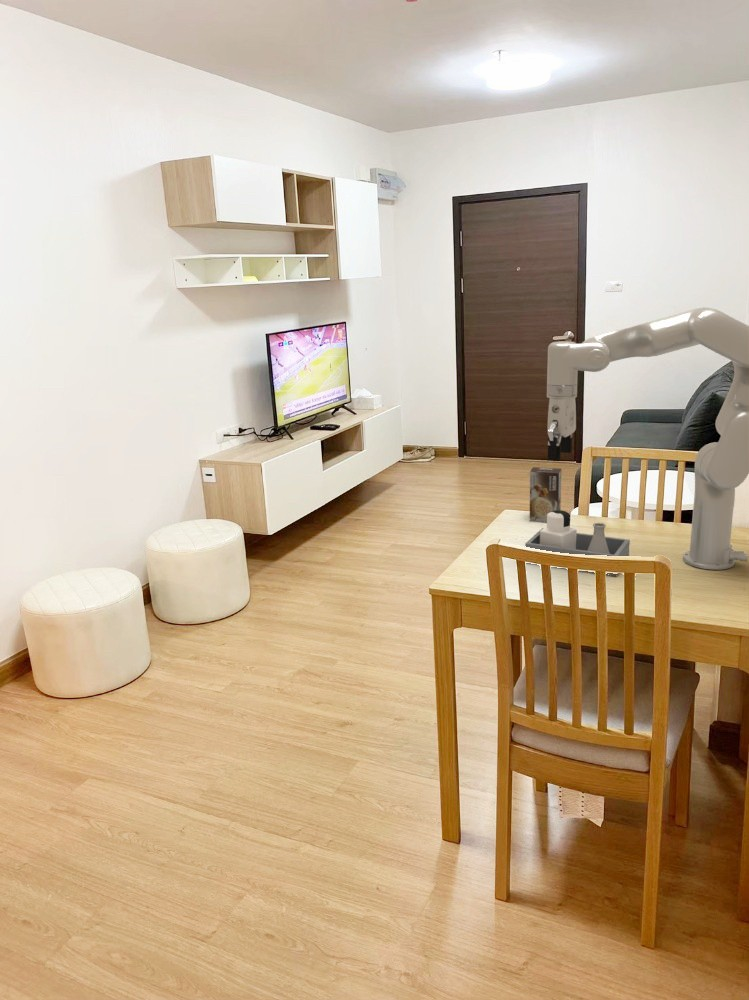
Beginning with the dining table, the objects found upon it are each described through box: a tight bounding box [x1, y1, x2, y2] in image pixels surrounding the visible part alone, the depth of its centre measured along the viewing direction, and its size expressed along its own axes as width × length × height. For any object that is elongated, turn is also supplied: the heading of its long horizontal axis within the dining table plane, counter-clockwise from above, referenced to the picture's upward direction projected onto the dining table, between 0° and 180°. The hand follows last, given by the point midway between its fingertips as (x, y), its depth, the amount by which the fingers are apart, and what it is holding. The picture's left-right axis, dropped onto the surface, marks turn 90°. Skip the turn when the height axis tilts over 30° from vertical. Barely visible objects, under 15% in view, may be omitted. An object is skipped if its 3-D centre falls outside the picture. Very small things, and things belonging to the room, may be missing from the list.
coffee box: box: [529, 466, 562, 523], centre depth 242 cm, size 9×6×16 cm
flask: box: [587, 522, 610, 554], centre depth 205 cm, size 7×7×10 cm
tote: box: [524, 527, 631, 578], centre depth 208 cm, size 24×14×6 cm, turn 60°
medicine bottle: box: [539, 509, 578, 549], centre depth 210 cm, size 7×7×12 cm
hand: (559, 456), depth 204 cm, fingers open, 9 cm apart
